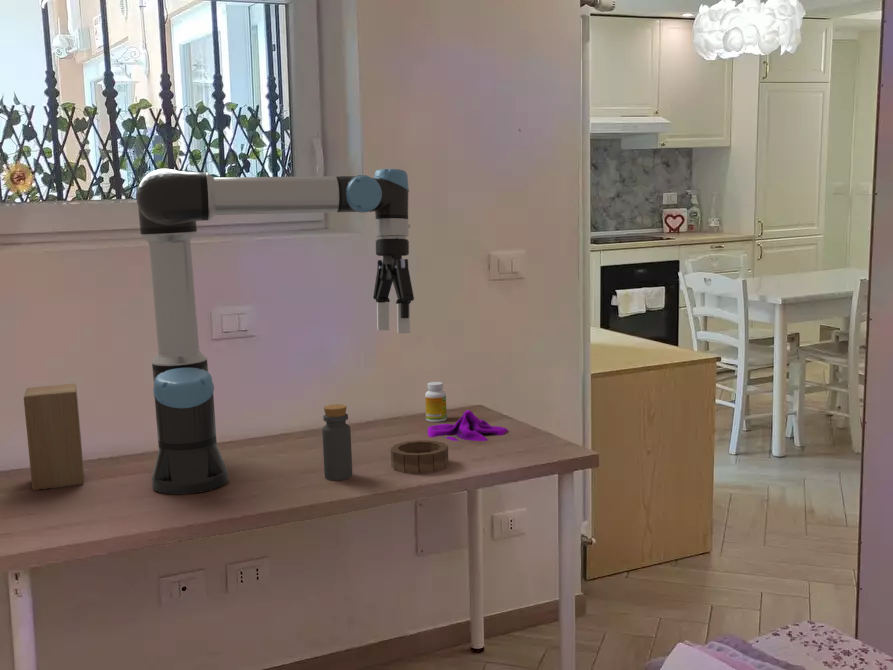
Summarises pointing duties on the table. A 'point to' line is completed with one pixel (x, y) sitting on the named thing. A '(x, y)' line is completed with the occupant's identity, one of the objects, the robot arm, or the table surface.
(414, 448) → the bead ring
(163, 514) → the table surface
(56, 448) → the wooden block
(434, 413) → the supplement bottle
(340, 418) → the bottle
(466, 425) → the cloth
